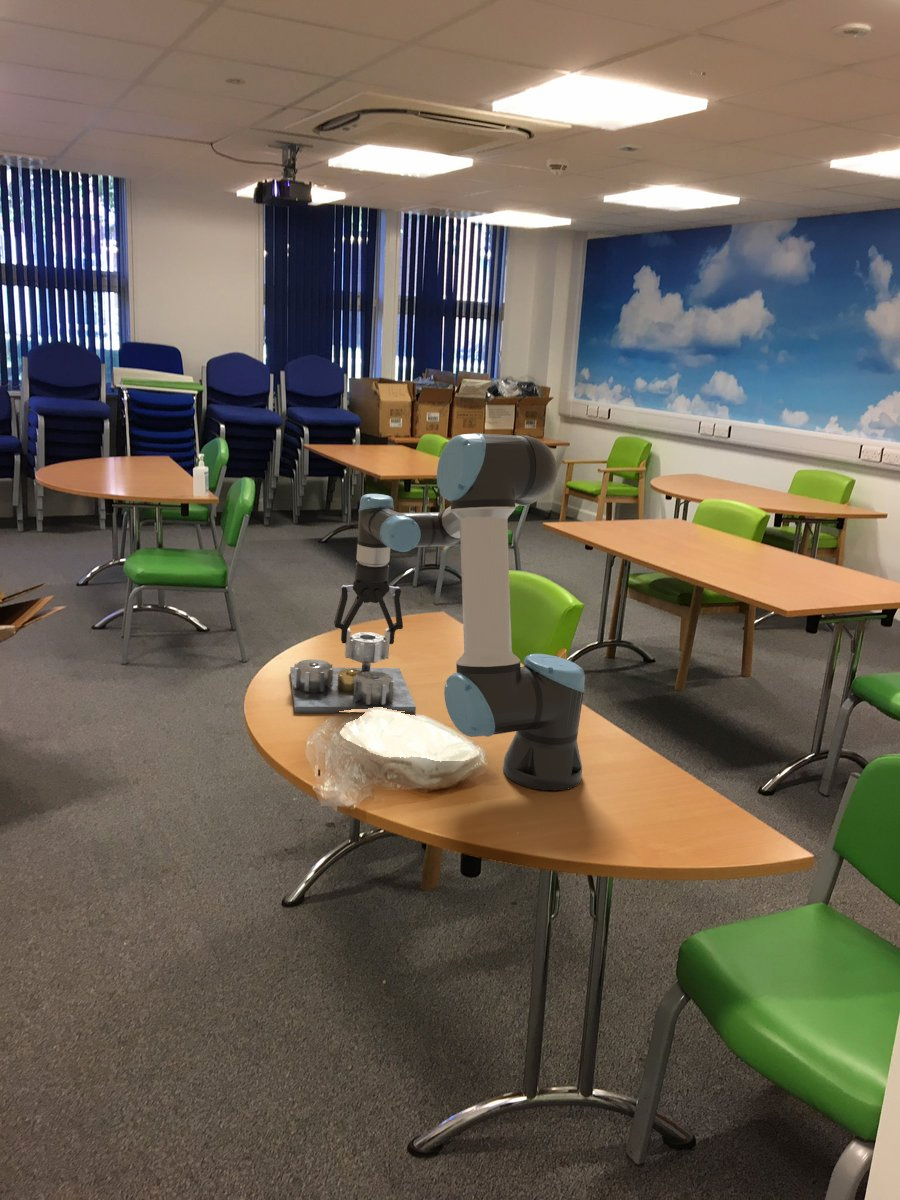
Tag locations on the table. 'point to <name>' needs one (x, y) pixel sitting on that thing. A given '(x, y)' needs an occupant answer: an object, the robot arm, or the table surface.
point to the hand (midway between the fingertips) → (366, 656)
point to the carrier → (347, 688)
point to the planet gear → (367, 647)
